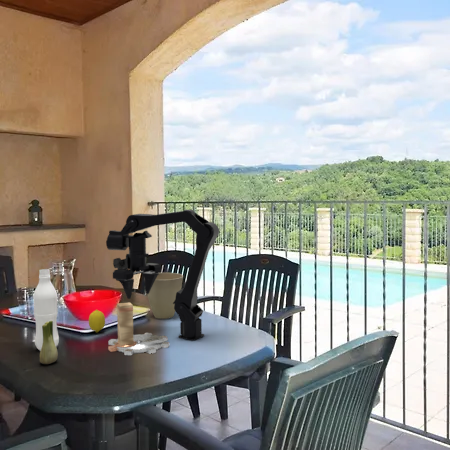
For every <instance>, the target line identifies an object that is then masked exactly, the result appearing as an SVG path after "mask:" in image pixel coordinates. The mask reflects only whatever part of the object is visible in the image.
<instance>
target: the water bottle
mask: <svg viewBox="0 0 450 450" xmlns="http://www.w3.org/2000/svg"><path fill="white" fill-rule="evenodd" d="M50 271H51V270H50V269H49V268H44V269H43V268H41V269H39V271H38V272H39V276H38V284H37V285H36V287H35V290H34V292H33V294H32V295H33V296H32V299H33V315H34V319H35V337H34V345H35V347H36V348H37V349H38V350H39V352H40V351H41V348H42V344H43V330H42V326H43V325H45V323H46V322H49V321H53V339H54V343H55V346H56V348H57V347H58V345H59V341H60V337H59V332H58V326H57V320H58V319H57V316H58V312H59V311H58V310H59V309H58V292H57V290H56V288H55V286H54V284H53V283H52V281H51V274H50Z"/></svg>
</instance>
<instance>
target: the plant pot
mask: <svg viewBox="0 0 450 450" xmlns="http://www.w3.org/2000/svg"><path fill="white" fill-rule="evenodd" d="M143 279H144V281H145V278H144V277H143ZM183 279H184V275H183V274H181V273H176V272H159V275H158V276H157V278H156V279H155V281H154V283H153V285H152V288H151V290H150V292H149V294H146V295H147V299H148V302H149V306H150V308H151V311H152V314H153V315H154V316H153V317H154V318H155V319H158V320H160V319H161V320H165V319H166V320H168V319H171V318H174V316H175V313H176V311H175V310H174V305H175V304H173V302H174V301H175V298H176V293H177V292H178V291H180V290H181V289H183V288H182V286H183Z"/></svg>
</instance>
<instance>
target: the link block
mask: <svg viewBox="0 0 450 450" xmlns="http://www.w3.org/2000/svg"><path fill="white" fill-rule="evenodd" d="M116 315H117V317H116V318H117V339H118V343H119V344H120V346H125V345H133V344H134V343H133V335H134V305H133V304H132V303H131V302H120V303H116Z"/></svg>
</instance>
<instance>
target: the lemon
mask: <svg viewBox="0 0 450 450" xmlns="http://www.w3.org/2000/svg"><path fill="white" fill-rule="evenodd" d="M88 325H89V327H90V330H92V331H94V332H95V333H99V332H100V331H101V330H103V329H104V327H105V325H106V318H105V314H104V313H103V312H102V311H100V310H98V309H95V310H93V311H92V312H91V313H90V314H89V316H88Z"/></svg>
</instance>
